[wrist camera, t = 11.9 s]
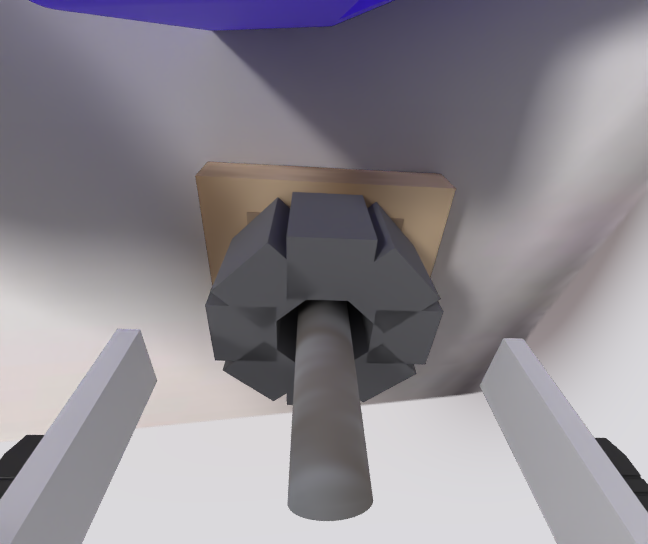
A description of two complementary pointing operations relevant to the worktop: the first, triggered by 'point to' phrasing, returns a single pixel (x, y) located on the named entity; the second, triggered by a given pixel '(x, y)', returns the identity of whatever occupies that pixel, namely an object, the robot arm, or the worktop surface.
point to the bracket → (223, 12)
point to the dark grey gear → (322, 292)
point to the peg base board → (323, 315)
